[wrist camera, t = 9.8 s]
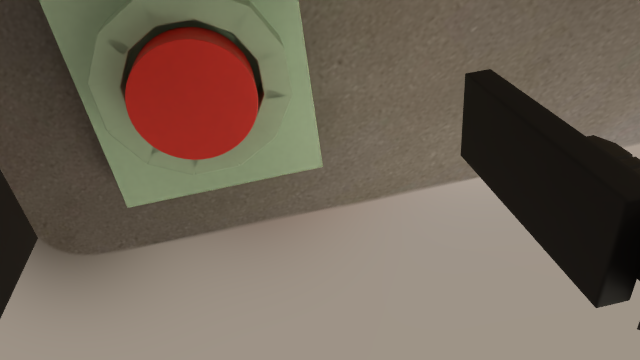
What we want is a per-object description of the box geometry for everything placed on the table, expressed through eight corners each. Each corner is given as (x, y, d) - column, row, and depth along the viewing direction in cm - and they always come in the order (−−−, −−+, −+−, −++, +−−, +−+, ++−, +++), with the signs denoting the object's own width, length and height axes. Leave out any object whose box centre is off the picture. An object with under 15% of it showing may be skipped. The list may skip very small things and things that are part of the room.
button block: (315, 147, 27) (330, 185, 24) (133, 184, 26) (122, 230, 23) (277, -100, 21) (290, -95, 17) (33, -61, 20) (-3, -48, 16)
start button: (265, 128, 22) (269, 146, 21) (153, 151, 22) (149, 171, 20) (241, 15, 19) (243, 27, 18) (112, 39, 19) (104, 52, 17)
